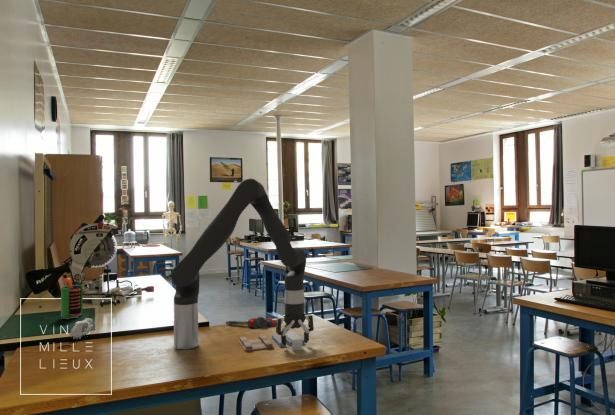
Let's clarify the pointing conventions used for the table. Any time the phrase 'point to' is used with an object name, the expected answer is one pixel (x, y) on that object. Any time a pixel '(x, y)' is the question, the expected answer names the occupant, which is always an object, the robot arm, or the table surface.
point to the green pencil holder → (71, 299)
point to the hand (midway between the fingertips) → (295, 343)
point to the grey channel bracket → (277, 340)
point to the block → (293, 340)
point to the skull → (81, 328)
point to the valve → (256, 323)
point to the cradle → (255, 343)
